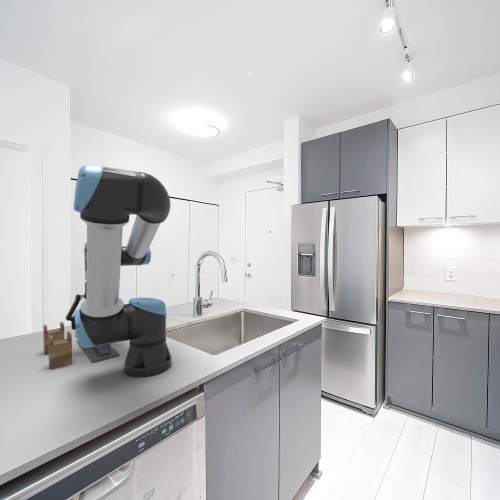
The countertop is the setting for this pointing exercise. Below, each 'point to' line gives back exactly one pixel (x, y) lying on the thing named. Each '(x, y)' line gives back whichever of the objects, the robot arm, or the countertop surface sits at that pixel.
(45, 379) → the countertop surface
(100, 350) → the rail
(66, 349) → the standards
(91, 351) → the mat
